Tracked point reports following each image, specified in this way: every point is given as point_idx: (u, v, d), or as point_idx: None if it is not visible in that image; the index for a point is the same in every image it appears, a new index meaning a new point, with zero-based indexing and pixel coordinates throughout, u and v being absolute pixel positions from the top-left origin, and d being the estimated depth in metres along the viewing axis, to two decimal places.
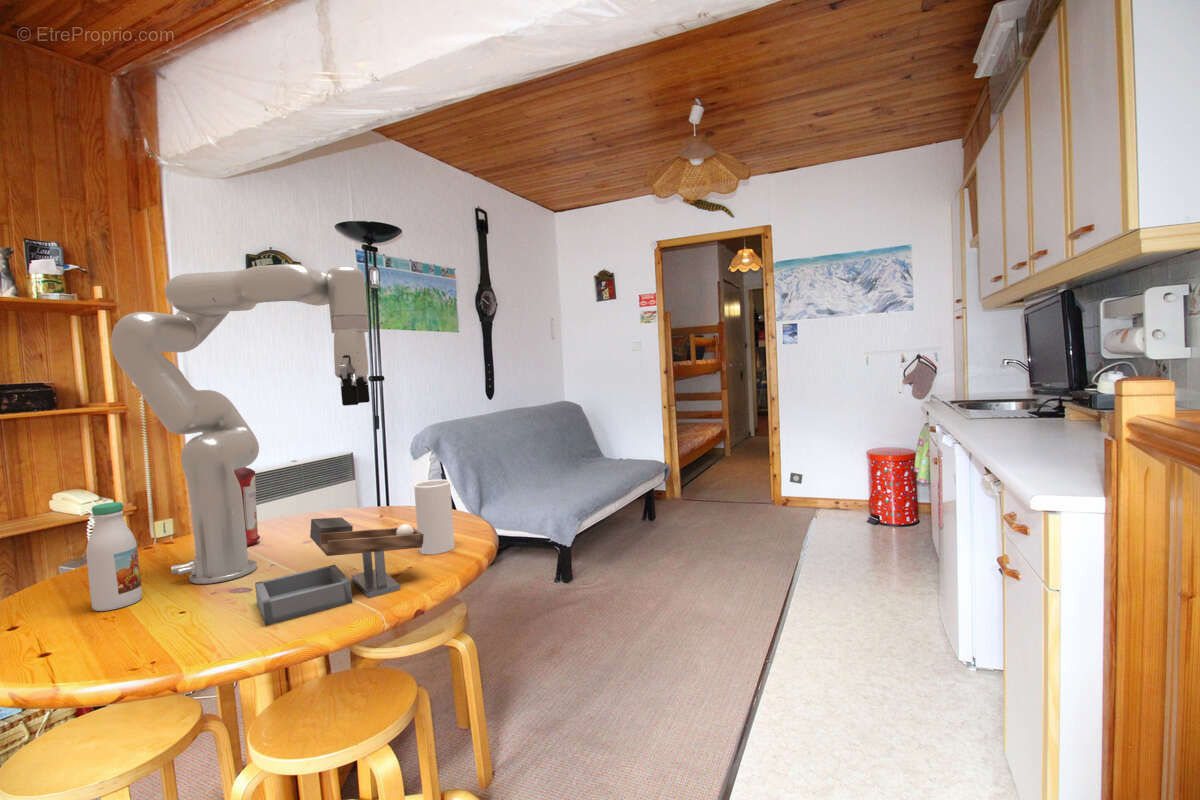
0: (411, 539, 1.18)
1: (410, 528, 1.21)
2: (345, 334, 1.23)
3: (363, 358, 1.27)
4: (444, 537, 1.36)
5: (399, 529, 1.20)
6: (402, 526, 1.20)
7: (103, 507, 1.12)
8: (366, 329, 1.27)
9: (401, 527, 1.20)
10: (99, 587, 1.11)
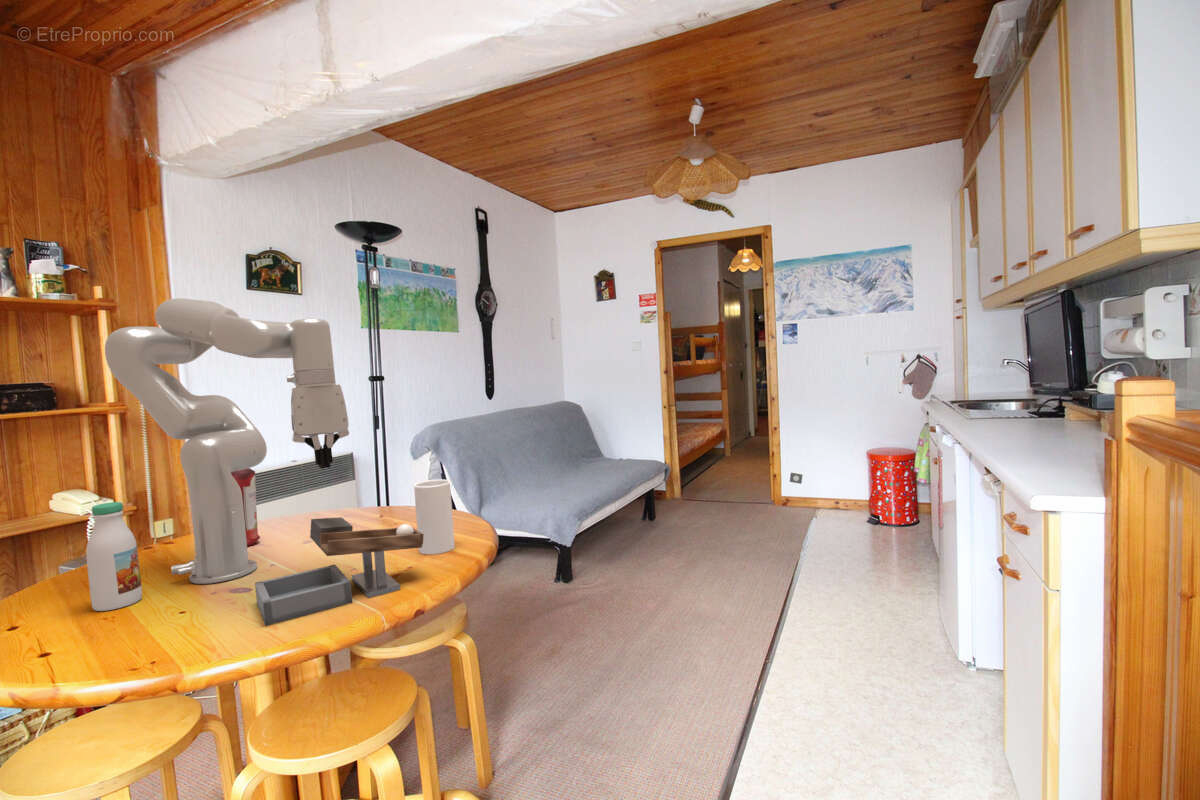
0: (411, 539, 1.18)
1: (410, 528, 1.21)
2: None
3: None
4: (444, 537, 1.36)
5: (399, 529, 1.20)
6: (402, 526, 1.20)
7: (103, 507, 1.12)
8: None
9: (401, 527, 1.20)
10: (99, 587, 1.11)
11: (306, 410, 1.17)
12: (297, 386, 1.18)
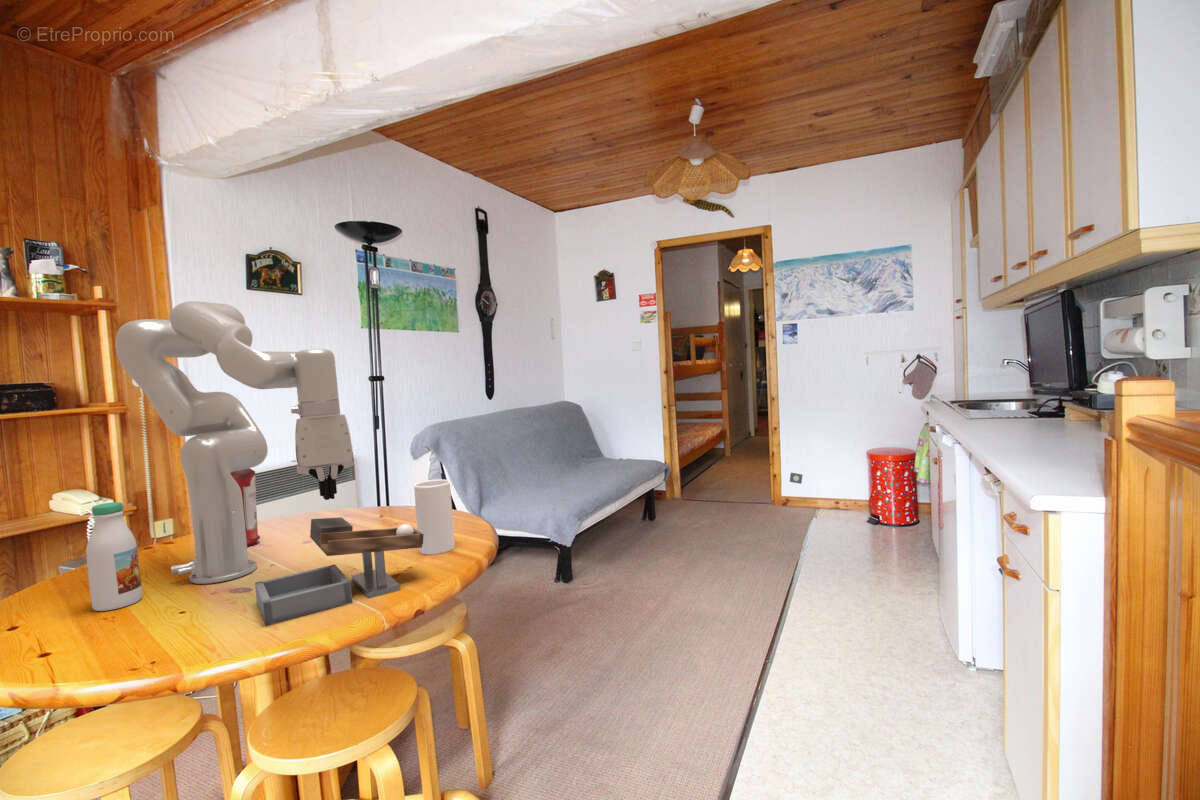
0: (411, 539, 1.18)
1: (410, 528, 1.21)
2: None
3: None
4: (444, 537, 1.36)
5: (399, 529, 1.20)
6: (402, 526, 1.20)
7: (103, 507, 1.12)
8: None
9: (401, 527, 1.20)
10: (99, 587, 1.11)
11: (310, 442, 1.16)
12: (301, 417, 1.17)
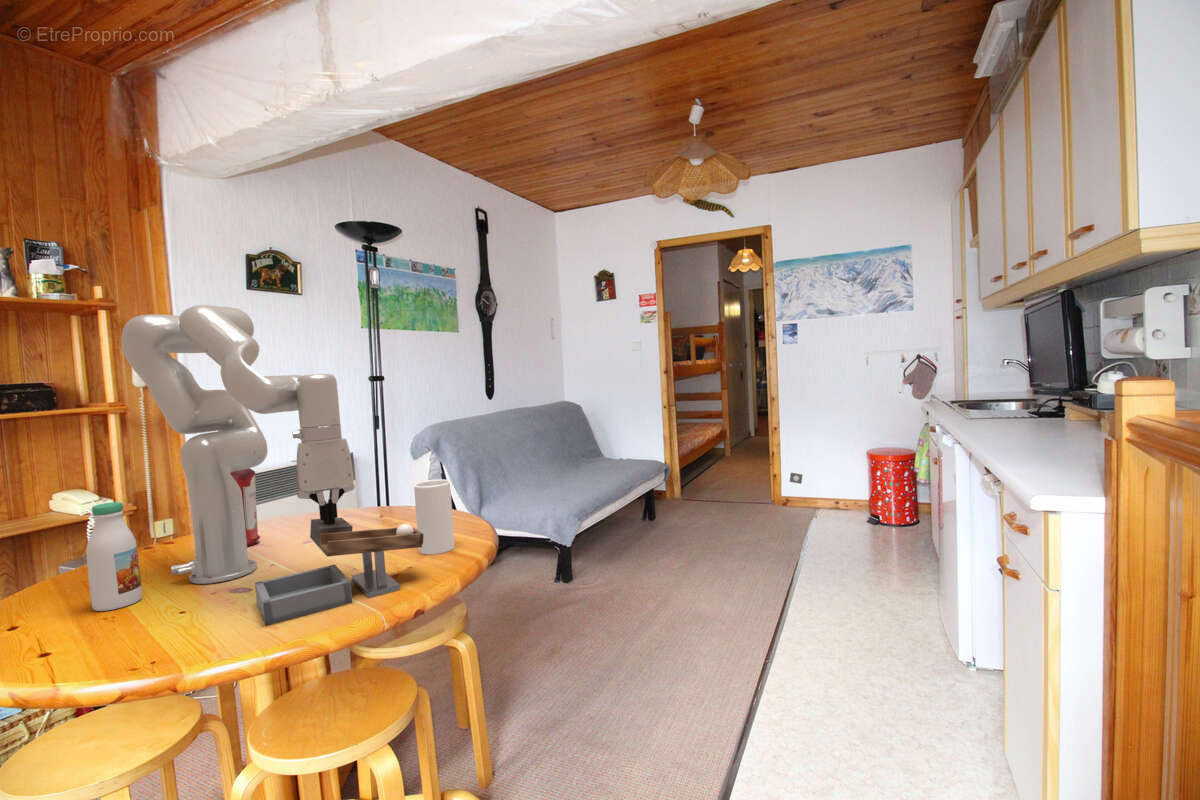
0: (411, 539, 1.18)
1: (410, 528, 1.21)
2: None
3: None
4: (444, 537, 1.36)
5: (399, 529, 1.20)
6: (402, 526, 1.20)
7: (103, 507, 1.12)
8: None
9: (401, 527, 1.20)
10: (99, 587, 1.11)
11: (311, 467, 1.16)
12: (303, 442, 1.17)
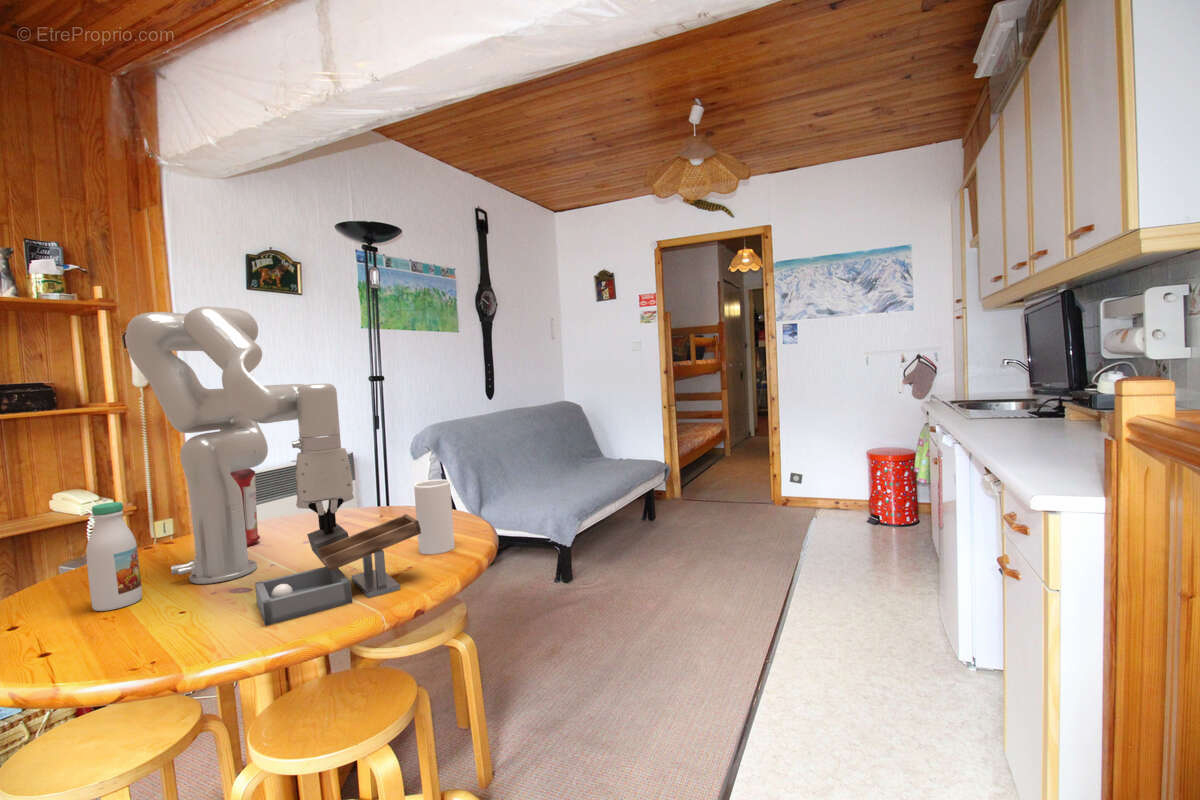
0: (407, 529, 1.18)
1: (275, 594, 1.06)
2: None
3: None
4: (444, 537, 1.36)
5: None
6: None
7: (103, 507, 1.12)
8: None
9: None
10: (99, 587, 1.11)
11: (310, 477, 1.16)
12: (302, 452, 1.17)
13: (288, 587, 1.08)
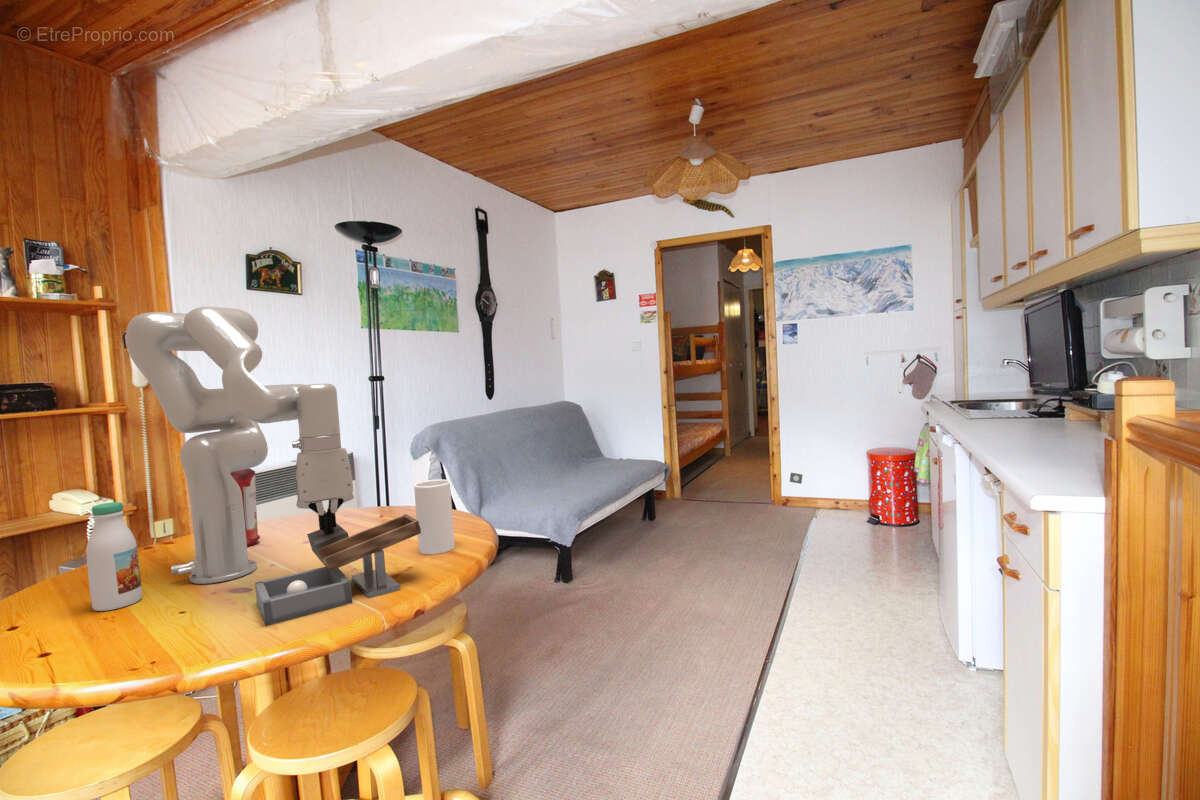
0: (407, 529, 1.18)
1: (299, 585, 1.09)
2: None
3: None
4: (444, 537, 1.36)
5: (288, 591, 1.08)
6: (290, 586, 1.08)
7: (103, 507, 1.12)
8: None
9: (289, 588, 1.08)
10: (99, 587, 1.11)
11: (310, 477, 1.16)
12: (302, 452, 1.17)
13: None
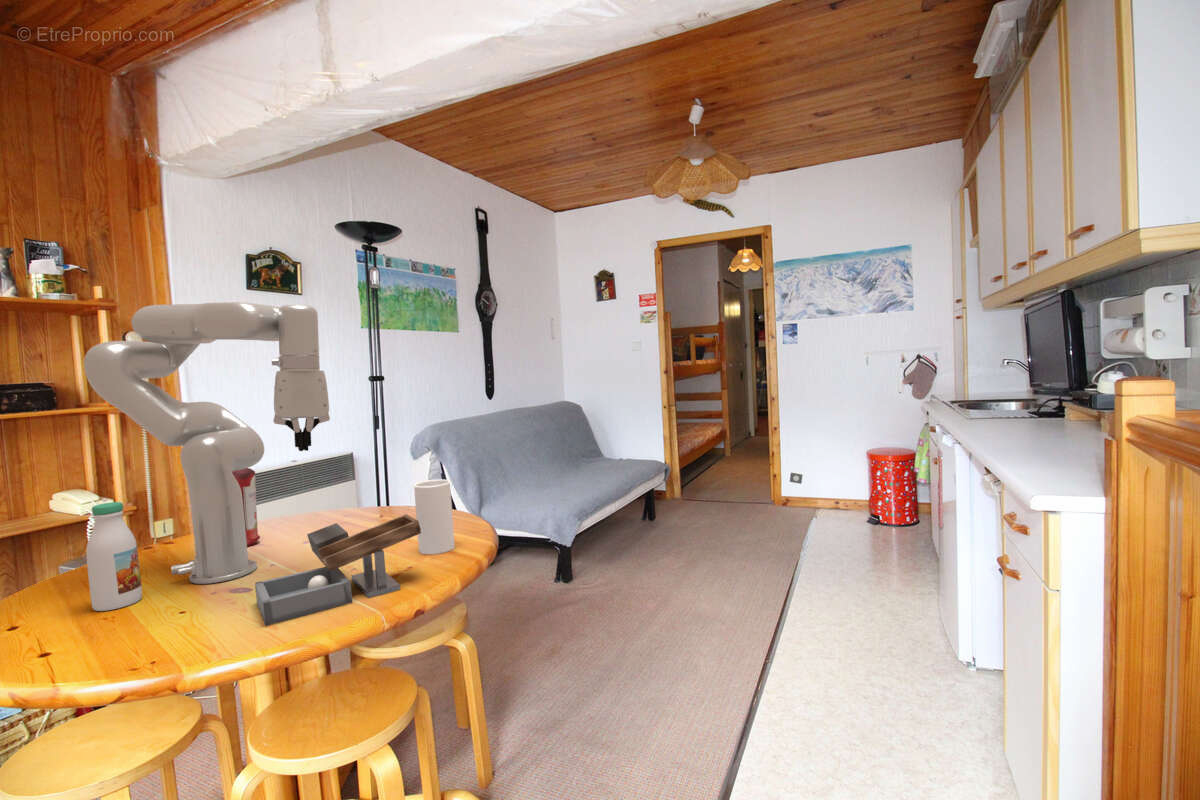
0: (407, 529, 1.18)
1: None
2: None
3: None
4: (444, 537, 1.36)
5: (324, 578, 1.12)
6: (327, 580, 1.12)
7: (103, 507, 1.12)
8: None
9: (326, 580, 1.12)
10: (99, 587, 1.11)
11: (287, 394, 1.20)
12: (281, 370, 1.21)
13: None
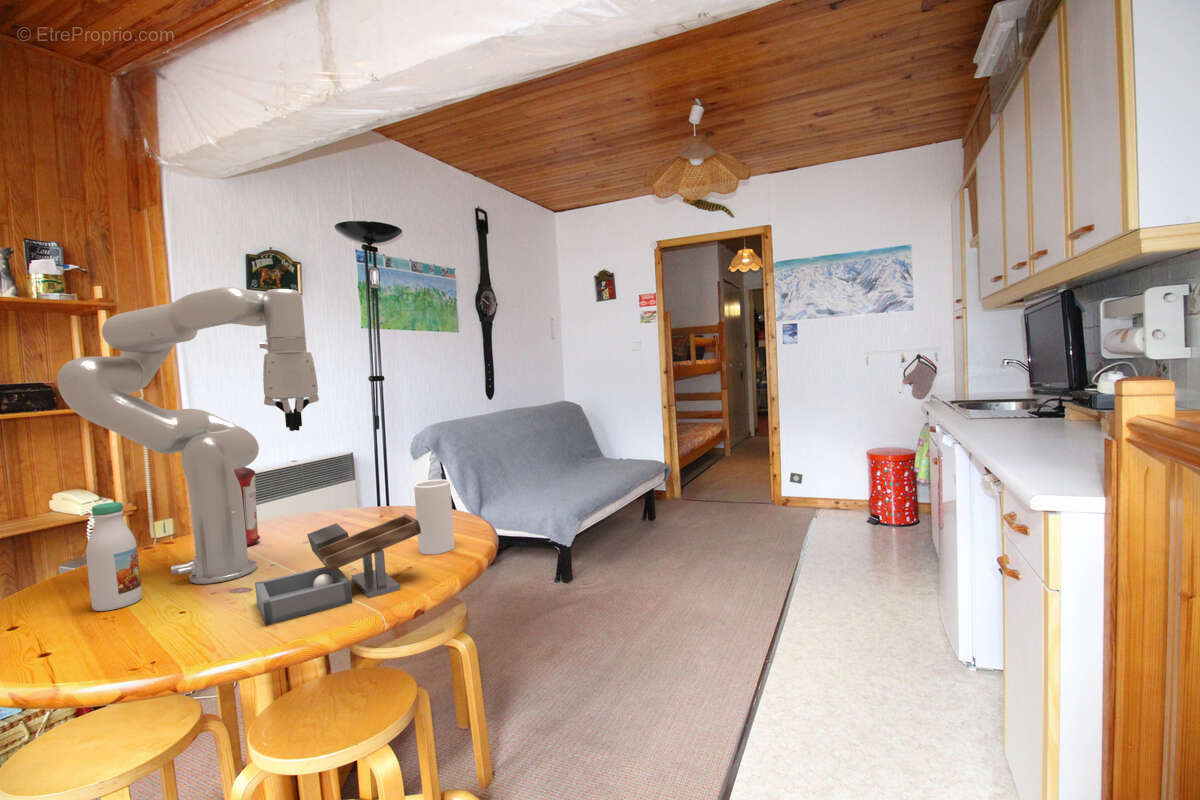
0: (407, 529, 1.18)
1: None
2: None
3: None
4: (444, 537, 1.36)
5: (332, 579, 1.13)
6: None
7: (103, 507, 1.12)
8: None
9: (333, 582, 1.13)
10: (99, 587, 1.11)
11: (276, 375, 1.24)
12: (269, 352, 1.25)
13: (315, 586, 1.11)
